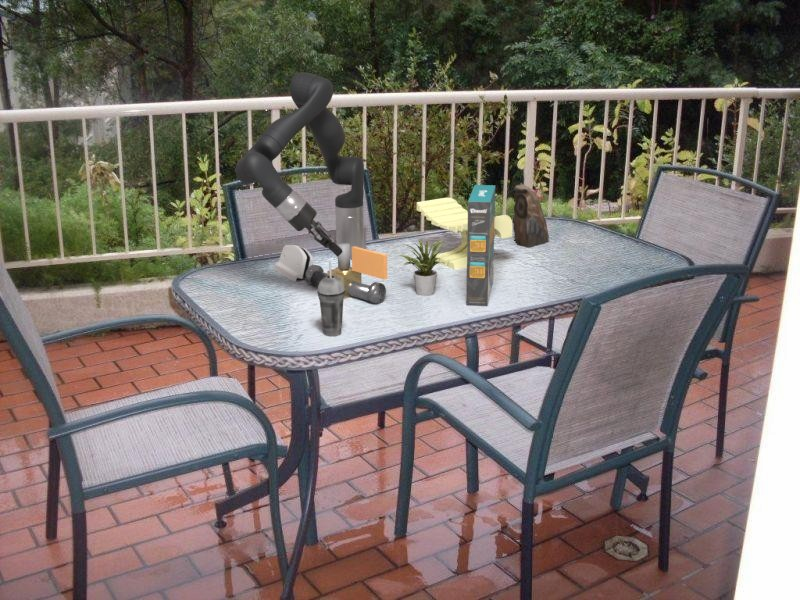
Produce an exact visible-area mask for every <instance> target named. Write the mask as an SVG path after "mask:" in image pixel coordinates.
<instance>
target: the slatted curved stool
mask: <svg viewBox="0 0 800 600" xmlns="http://www.w3.org/2000/svg"><path fill="white" fill-rule="evenodd" d="M416 211H417V212H421V216H423V217H426V220H427V221H431V225H433V226H435V227H439V228H441V229H445V230H448V231H450V232H453V233H456V234H457V233H460V235H461V242H460V244H459V246H457V247H456V248H454V249H452V250H448V251H446V252H442V253H438V254H437V256H436V257H435V258H440V259H437V260H436V261H438V262H444V263H445V264H444V263H439V264H441V265H443V266H445V267H448V268H449V269H452V270H460V269H465V268H466V269H467V232H468V209H465V208H463V205H462V204H460V203H458V202H457V200H456V199H454V198H451V197H441V198H435V199H430V200H423V201H417V202H416ZM496 236H497V237H498V238H500V239H507V238H512V237H513V219H512V218H511V217H510V215H508V214H502V215H496V216H495V221H494V239H496Z"/></svg>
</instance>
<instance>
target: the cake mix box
mask: <svg viewBox="0 0 800 600" xmlns="http://www.w3.org/2000/svg"><path fill="white" fill-rule="evenodd" d="M467 211H468V232H467V267H466V295H465V296H466V299H465V303H466V304H465V305H466V306H468V307H469V306H470V307H471V306H472V307H488V306H489V302H490V297H491V294H492V288H493V284H494V258H495V257H494V256H495V255H494V254H495V253H494V251H495V248H494V247H495V238H494V221H495V211H496V185H493V184H491V185H490V184H489V185H488V184H487V185H486V184H474V186H473V189H472V191H471V194H470V196H469V198H468V201H467Z"/></svg>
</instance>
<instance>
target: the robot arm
mask: <svg viewBox="0 0 800 600" xmlns="http://www.w3.org/2000/svg"><path fill="white" fill-rule="evenodd" d="M289 93H290V97H291V99H292V101H293V103H294V104H295V106H296V107H297V109H296V110H294V111H292V112H290V113H288V114H286V115H283V116H282V117H279V118H277V119H276V120H274V121H273V122H271V124H269V125H268V126H267V128H266V129H265V130H264V131H263V133H261V135H260V136H259V138H258V139H257V140H256V142H255V143H254V145H252V146H251V148H250V149H249V150H247V151H246V153H244V155H242V157H241V158H240V159H239V161H237V163H236V165H235V166H236V167H235V170H234V171H235V175H236V178H237V180H239V181H240V182H241V183H243V184H247V185H248V184H253V183H256V182H257V183H258V184H259V186H260V187H261V188H262V191H261V195H262V197H263V198H264V199H265V200H266V201H267V202H268V204H270V205H271V206H272V207H273V208H274V209H275V210H276V211H277V212H278V214H279V215H280V216H281V217H282V218H283V219H284V220H286V222H288V223H289V224H290V225H291V226H292V227H293V228H294V229H295V230H296V231H297V232H302V231H303V230H305V229H306V230H307V233H308V235H309V236H310V237H311V238H313V239H314V240H315V241H316V242H318V243H319V244H320V245H322V246H323V247H324V248H326V249H329V250H330V251H331V252H332V253H333V254H334V255H335V256H336V257H337V258H338V256H339V255H340V254H341V253H342V252H343V251H342V249H341V248H340V247H339V246H338V245H337V244H338V243H349V244H350V260H352V247H354V246H356V247H359V248H363V249H367V227H366V226H365V225H364V223H365V221H364V220H365V218H364V193H365V192H364V190H365V189H364V183H365V180H364V179H365V164H364V160H363V159H362V158H361V157H359V156H345V155H344V156H342V155H339V153H340V151H341V150H342V148H343V146H344V145H345V142H346V134H345V130H344V128H343V126H342V123H341V121H340V120H339V118H338V117H337V116H336V115H335V114H334V113H333V112H332V111H331V110H330V109H329V108H327V107H328V105H329V104H330V102H331V101H332V99H333V94H334V85H333V83H332V81H331V80H330V79H328V78H325V77H322V76H319V75H316V74H313V73H310V72H305V71H300V72H298V73H296V74H294V75H293V76H292V78H291V81H290V84H289ZM306 126H308V128H309V130H310V133H311V134H312V137H313V139H314V141H315V143H316V145H317V147H318V149H319V151H320V154H321V156H322V157H323V160H324V163H325V167H326V170H327V173H328V176H329V178H330V180H331V182H332V183H334V184H336V185H339V186H351V187H350V188H351V189H350V190H349V191H348V192H344V193H342V194H339V195H337V196H336V197H335V198H334V199H335V200H334V204H335V205H334V207H335V209H334V210H335V211H334V213H335V233H336V234H335V238H336V239H335V240H336V241H334V238H333V237H332V235H330V233H329V232H328V230H326V228H325V227H323V225H322V223H321V222H320V221H315V220H314V219H315V218H316V216H317V214H318V212H317V211H316V209H314V208H313V206H312V205H310V204H309V203H308V202H307V201H306V200H305V198H303V197H302V195H300V194H299V193H297V191H295V190H294V189H293V188H292V187H291V186H290V185H289V184H288V183H287V182H285V180H283V179H282V177H281V176H280V174H279V172H278V171H277V169H276V168H275V166H274V164H273V163H272V161H274V160H275V159H276V158H277V157H278V156H279V155H280V154H281V153H282V152H283V150H284V149H285V148H286V147H287V145H288V144H289V143H290V142H291V141H292V139H293V138H294V137H295V136H296V135H297V134H298V133H299V132H300V131H302V130H303V128H305V127H306Z"/></svg>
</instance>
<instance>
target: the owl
mask: <svg viewBox="0 0 800 600" xmlns="http://www.w3.org/2000/svg"><path fill="white" fill-rule="evenodd" d="M513 191H514V194H513V198H514V206H513V218H512V224H513V225H512V230H513V232H514V233H513V234H514V239H513V242H515V244H516V245H517V246H520V247H523V248H529V249H530V248H534V247H537V246H539V245H540V246H541V245H545V244H546V243H549V242H550V241H549V238H550V235H549V231H548V225H547V219H546V218H545V215H544V212H543V208H542V205H541V202H540V199H539V197H538V196H537V194H536V193H535V192H534V190H532V188H530V186H527V185H524V184H523V183H522V182H520V183H519V184H516V185H515V186H514V188H513Z"/></svg>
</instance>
